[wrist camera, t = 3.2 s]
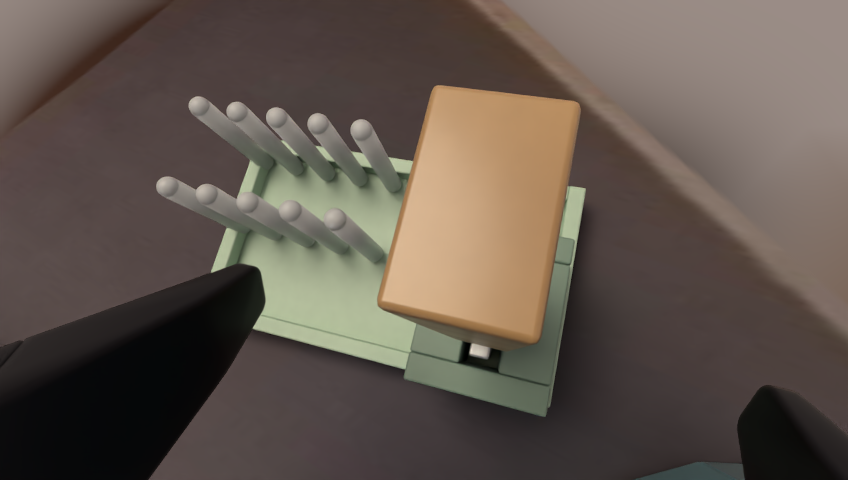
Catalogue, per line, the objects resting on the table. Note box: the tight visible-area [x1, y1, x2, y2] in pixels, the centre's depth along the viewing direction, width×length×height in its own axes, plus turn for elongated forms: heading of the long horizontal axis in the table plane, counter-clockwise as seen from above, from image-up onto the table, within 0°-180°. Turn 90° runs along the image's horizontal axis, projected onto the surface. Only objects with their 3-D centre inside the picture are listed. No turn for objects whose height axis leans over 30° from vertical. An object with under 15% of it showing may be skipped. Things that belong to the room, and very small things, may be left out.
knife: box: [377, 85, 581, 359], centre depth 10 cm, size 3×1×13 cm, turn 167°
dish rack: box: [157, 97, 586, 417], centre depth 15 cm, size 8×14×6 cm, turn 76°
